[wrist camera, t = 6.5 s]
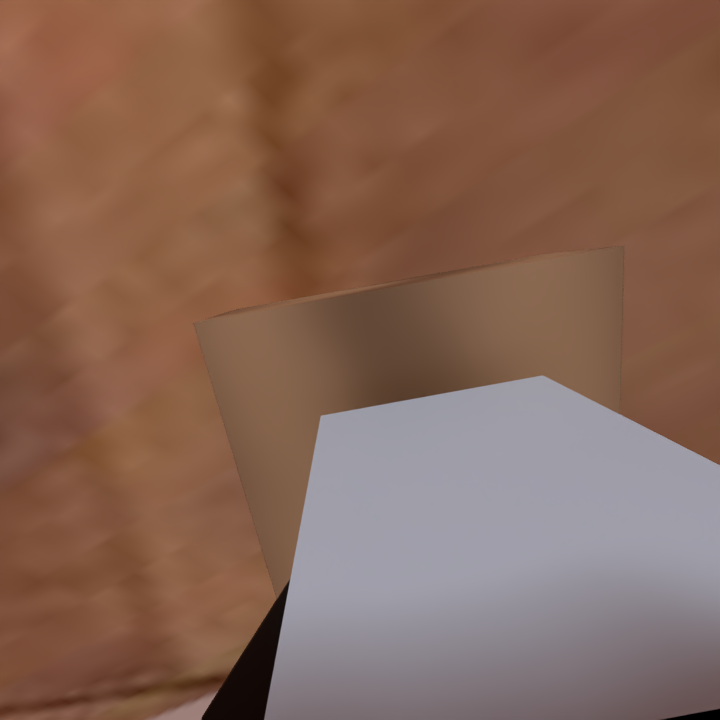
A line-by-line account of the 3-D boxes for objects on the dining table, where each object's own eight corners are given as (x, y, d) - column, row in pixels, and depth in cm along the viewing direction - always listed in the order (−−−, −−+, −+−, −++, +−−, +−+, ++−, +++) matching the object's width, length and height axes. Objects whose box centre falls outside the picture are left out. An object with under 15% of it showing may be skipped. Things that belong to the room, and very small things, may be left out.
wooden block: (538, 254, 11) (624, 245, 8) (547, 509, 13) (615, 588, 10) (240, 308, 11) (193, 322, 8) (304, 552, 14) (291, 645, 10)
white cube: (543, 375, 7) (1823, 1026, 1) (550, 557, 9) (1138, 1369, 2) (320, 415, 7) (157, 1291, 1) (360, 591, 9) (398, 1484, 2)
